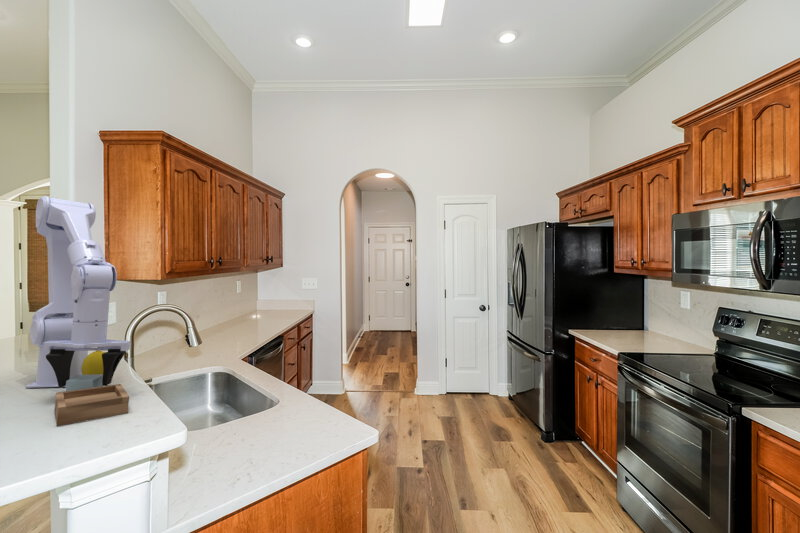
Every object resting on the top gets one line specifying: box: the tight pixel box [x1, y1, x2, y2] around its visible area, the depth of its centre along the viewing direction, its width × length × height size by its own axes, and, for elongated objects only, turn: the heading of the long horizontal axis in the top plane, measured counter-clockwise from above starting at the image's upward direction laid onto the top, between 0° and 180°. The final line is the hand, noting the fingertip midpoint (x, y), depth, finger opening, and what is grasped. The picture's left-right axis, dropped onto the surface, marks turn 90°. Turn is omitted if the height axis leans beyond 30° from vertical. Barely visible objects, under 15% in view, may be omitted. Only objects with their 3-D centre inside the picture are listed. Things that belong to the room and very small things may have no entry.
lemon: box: [81, 351, 106, 375], centre depth 85 cm, size 6×6×8 cm
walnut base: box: [53, 383, 130, 427], centre depth 69 cm, size 10×10×3 cm
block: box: [65, 374, 103, 391], centre depth 76 cm, size 4×4×4 cm
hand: (85, 385), depth 76 cm, fingers open, 7 cm apart
